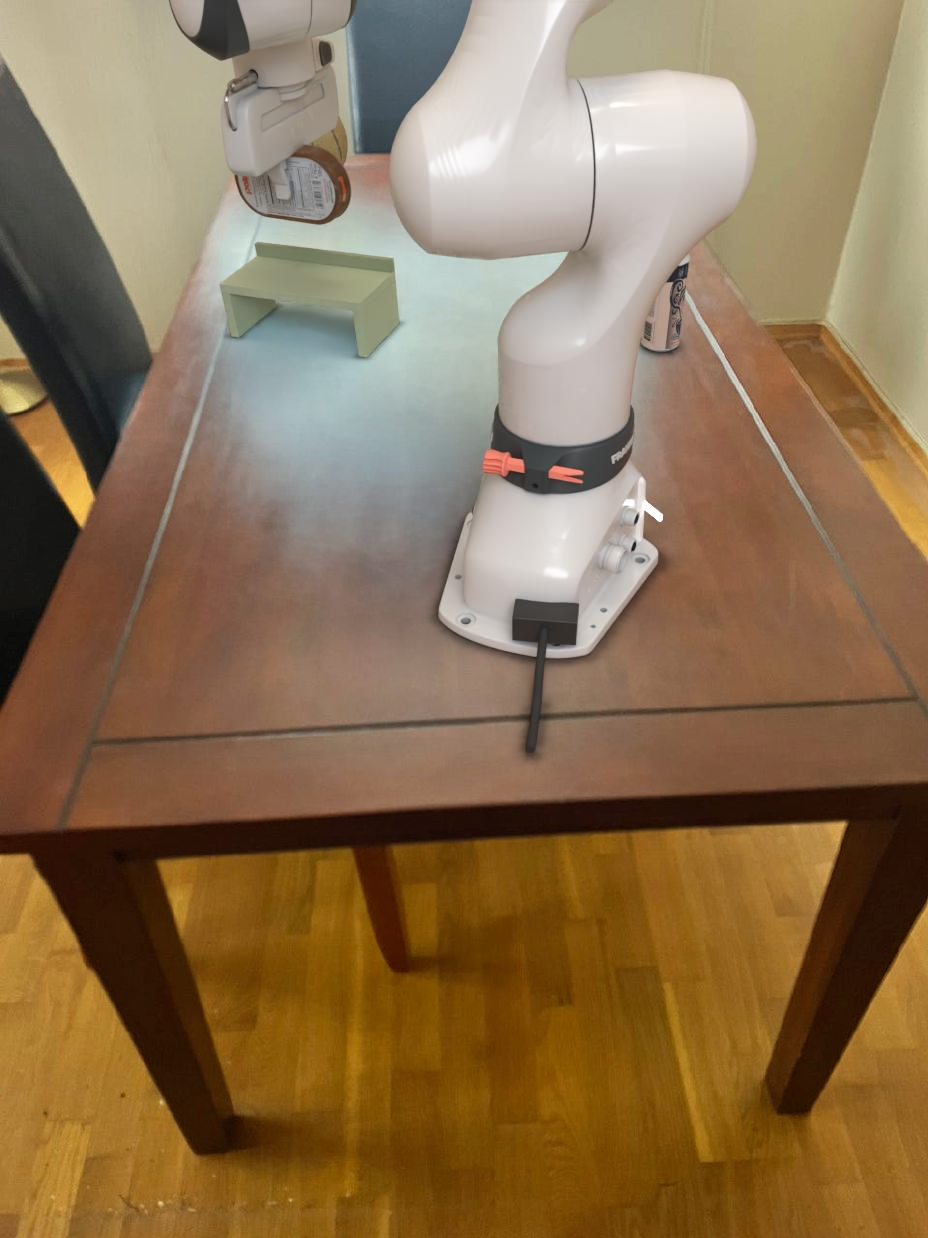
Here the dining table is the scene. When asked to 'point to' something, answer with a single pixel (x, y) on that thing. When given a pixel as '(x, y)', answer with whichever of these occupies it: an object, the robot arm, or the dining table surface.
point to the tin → (302, 188)
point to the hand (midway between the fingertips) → (294, 191)
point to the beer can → (667, 312)
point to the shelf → (315, 289)
